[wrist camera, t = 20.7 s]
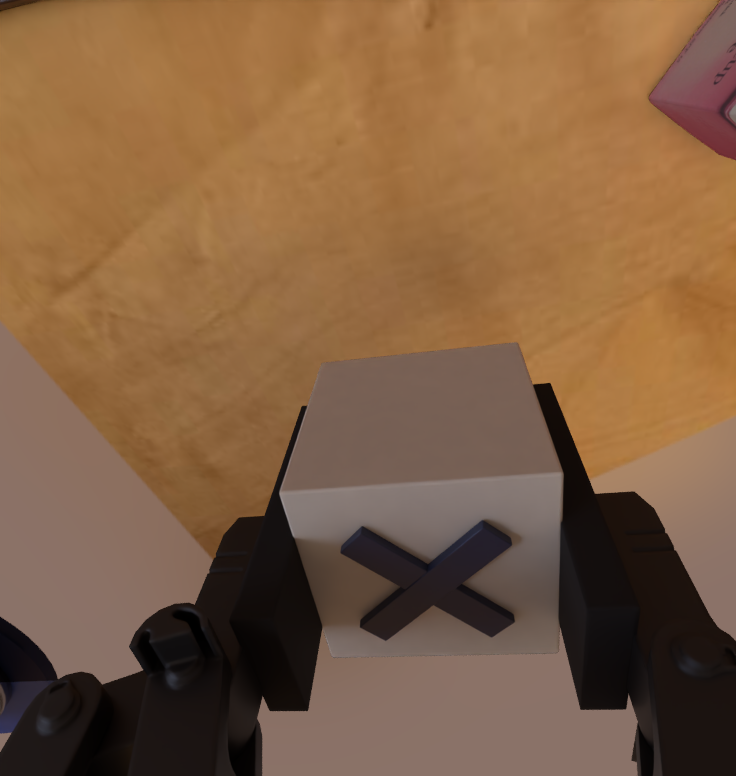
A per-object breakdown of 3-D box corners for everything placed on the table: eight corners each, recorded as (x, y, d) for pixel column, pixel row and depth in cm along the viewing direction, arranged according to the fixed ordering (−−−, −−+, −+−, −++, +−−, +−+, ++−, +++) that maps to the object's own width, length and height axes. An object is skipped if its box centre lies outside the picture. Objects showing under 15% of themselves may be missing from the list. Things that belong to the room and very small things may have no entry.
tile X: (320, 361, 14) (274, 501, 10) (518, 340, 13) (567, 481, 9) (354, 505, 17) (329, 668, 12) (522, 494, 16) (561, 665, 11)
